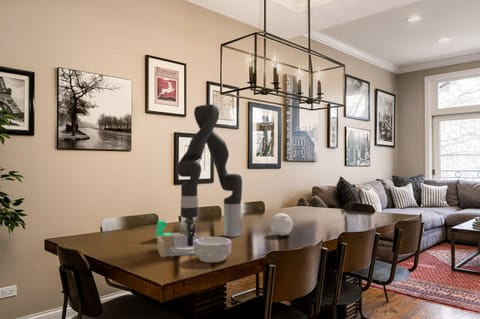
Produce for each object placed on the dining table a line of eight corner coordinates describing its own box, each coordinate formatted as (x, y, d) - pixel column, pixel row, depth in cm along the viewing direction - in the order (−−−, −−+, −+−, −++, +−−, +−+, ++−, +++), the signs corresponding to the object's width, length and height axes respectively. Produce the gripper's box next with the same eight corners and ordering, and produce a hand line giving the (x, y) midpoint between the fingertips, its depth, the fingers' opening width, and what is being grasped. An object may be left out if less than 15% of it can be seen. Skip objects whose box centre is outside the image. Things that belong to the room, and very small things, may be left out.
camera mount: (176, 241, 186) (176, 221, 186) (160, 243, 183) (160, 222, 183) (170, 237, 197) (170, 218, 197) (155, 238, 194) (155, 219, 194)
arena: (196, 246, 175) (196, 233, 175) (203, 253, 160) (203, 240, 160) (157, 248, 169) (157, 236, 169) (160, 257, 154) (160, 243, 154)
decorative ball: (277, 238, 192) (277, 215, 193) (266, 234, 203) (266, 212, 204) (297, 236, 197) (296, 214, 198) (285, 232, 208) (285, 211, 209)
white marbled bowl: (232, 264, 142) (232, 243, 143) (192, 265, 141) (192, 244, 141) (230, 254, 158) (230, 236, 158) (194, 255, 156) (194, 236, 156)
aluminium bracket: (193, 242, 171) (193, 231, 171) (196, 246, 163) (196, 234, 163) (171, 244, 168) (171, 233, 168) (173, 247, 160) (173, 236, 160)
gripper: (201, 207, 158) (201, 247, 158) (194, 204, 172) (194, 241, 172) (183, 208, 156) (183, 249, 156) (178, 204, 170) (178, 242, 169)
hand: (189, 244), depth 164 cm, fingers closed on aluminium bracket, 3 cm apart
